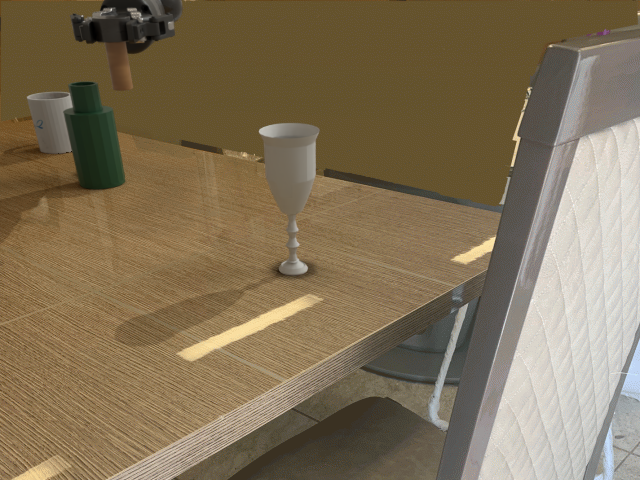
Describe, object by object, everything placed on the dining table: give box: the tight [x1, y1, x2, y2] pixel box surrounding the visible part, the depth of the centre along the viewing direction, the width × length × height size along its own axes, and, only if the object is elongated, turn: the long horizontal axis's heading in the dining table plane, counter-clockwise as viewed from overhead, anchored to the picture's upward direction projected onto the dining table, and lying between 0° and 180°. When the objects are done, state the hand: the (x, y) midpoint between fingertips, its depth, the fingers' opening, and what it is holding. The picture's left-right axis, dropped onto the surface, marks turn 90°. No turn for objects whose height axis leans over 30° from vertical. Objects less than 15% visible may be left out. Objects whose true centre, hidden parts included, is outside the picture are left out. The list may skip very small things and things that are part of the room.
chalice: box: [258, 122, 321, 276], centre depth 77 cm, size 7×7×18 cm
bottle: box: [63, 80, 126, 190], centre depth 111 cm, size 8×8×16 cm
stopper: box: [91, 15, 134, 92], centre depth 82 cm, size 5×5×8 cm
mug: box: [26, 91, 73, 155], centre depth 134 cm, size 12×9×10 cm
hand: (109, 33), depth 78 cm, fingers closed on stopper, 4 cm apart
